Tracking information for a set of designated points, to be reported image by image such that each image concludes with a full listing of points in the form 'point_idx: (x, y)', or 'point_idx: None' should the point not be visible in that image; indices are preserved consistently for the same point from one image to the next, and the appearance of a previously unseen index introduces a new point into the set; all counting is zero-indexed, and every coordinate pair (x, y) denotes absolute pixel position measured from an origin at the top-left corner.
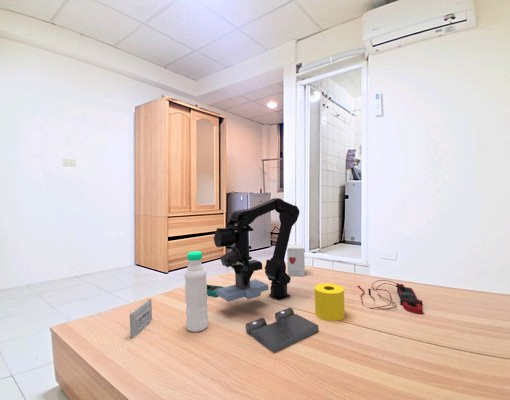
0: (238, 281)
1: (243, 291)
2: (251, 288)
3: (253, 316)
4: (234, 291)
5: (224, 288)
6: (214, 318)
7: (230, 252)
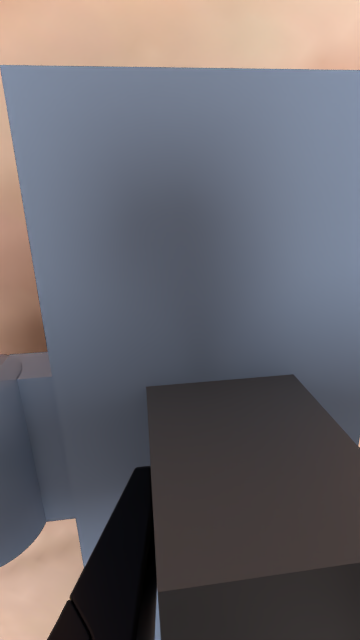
0: (241, 448)
1: (65, 383)
2: (106, 501)
3: (13, 329)
4: (140, 278)
5: (356, 209)
6: (159, 31)
7: None
